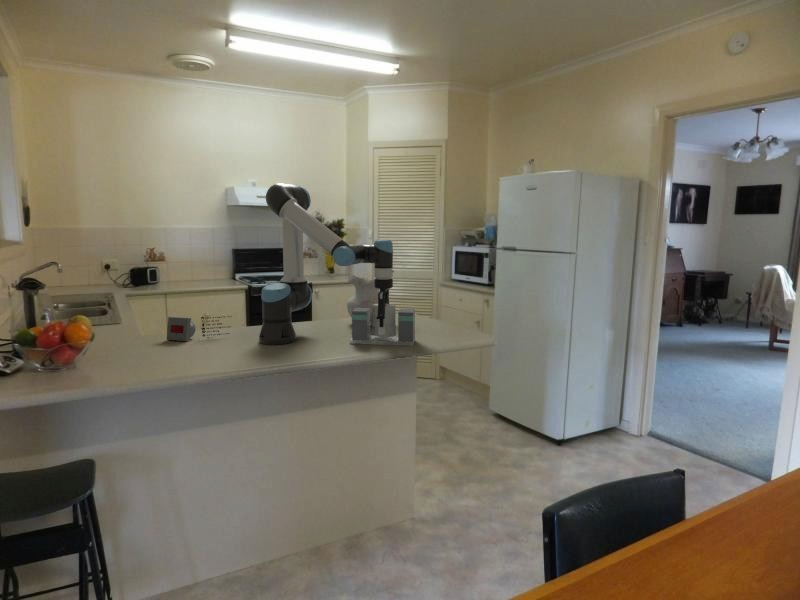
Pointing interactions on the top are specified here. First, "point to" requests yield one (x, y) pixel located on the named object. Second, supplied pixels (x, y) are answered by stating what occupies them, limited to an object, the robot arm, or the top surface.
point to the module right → (406, 325)
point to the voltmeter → (185, 328)
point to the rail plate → (382, 341)
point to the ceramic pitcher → (362, 295)
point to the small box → (388, 321)
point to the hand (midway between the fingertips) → (383, 331)
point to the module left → (360, 323)
